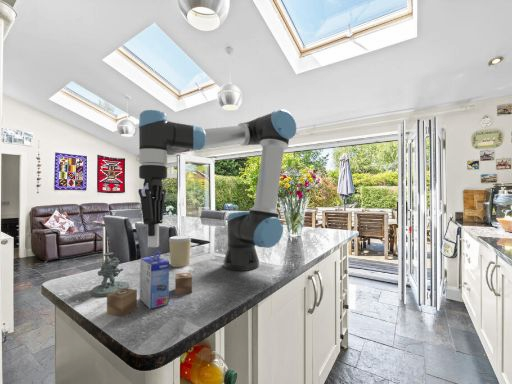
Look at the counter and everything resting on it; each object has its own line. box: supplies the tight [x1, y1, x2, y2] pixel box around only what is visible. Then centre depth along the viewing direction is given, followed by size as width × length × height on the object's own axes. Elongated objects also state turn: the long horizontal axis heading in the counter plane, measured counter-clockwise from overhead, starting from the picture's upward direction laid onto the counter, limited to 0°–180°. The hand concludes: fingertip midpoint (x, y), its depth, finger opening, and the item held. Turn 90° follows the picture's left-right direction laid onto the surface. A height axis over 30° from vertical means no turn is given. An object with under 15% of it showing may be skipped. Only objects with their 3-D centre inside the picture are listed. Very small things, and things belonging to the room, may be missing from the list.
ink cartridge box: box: [138, 249, 170, 310], centre depth 73 cm, size 10×6×14 cm, turn 41°
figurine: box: [90, 251, 130, 298], centre depth 82 cm, size 11×11×12 cm
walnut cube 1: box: [106, 288, 138, 317], centre depth 68 cm, size 5×5×5 cm
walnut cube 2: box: [174, 271, 193, 296], centre depth 81 cm, size 5×5×5 cm
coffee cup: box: [168, 235, 192, 268], centre depth 110 cm, size 9×9×12 cm
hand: (153, 246), depth 73 cm, fingers closed
